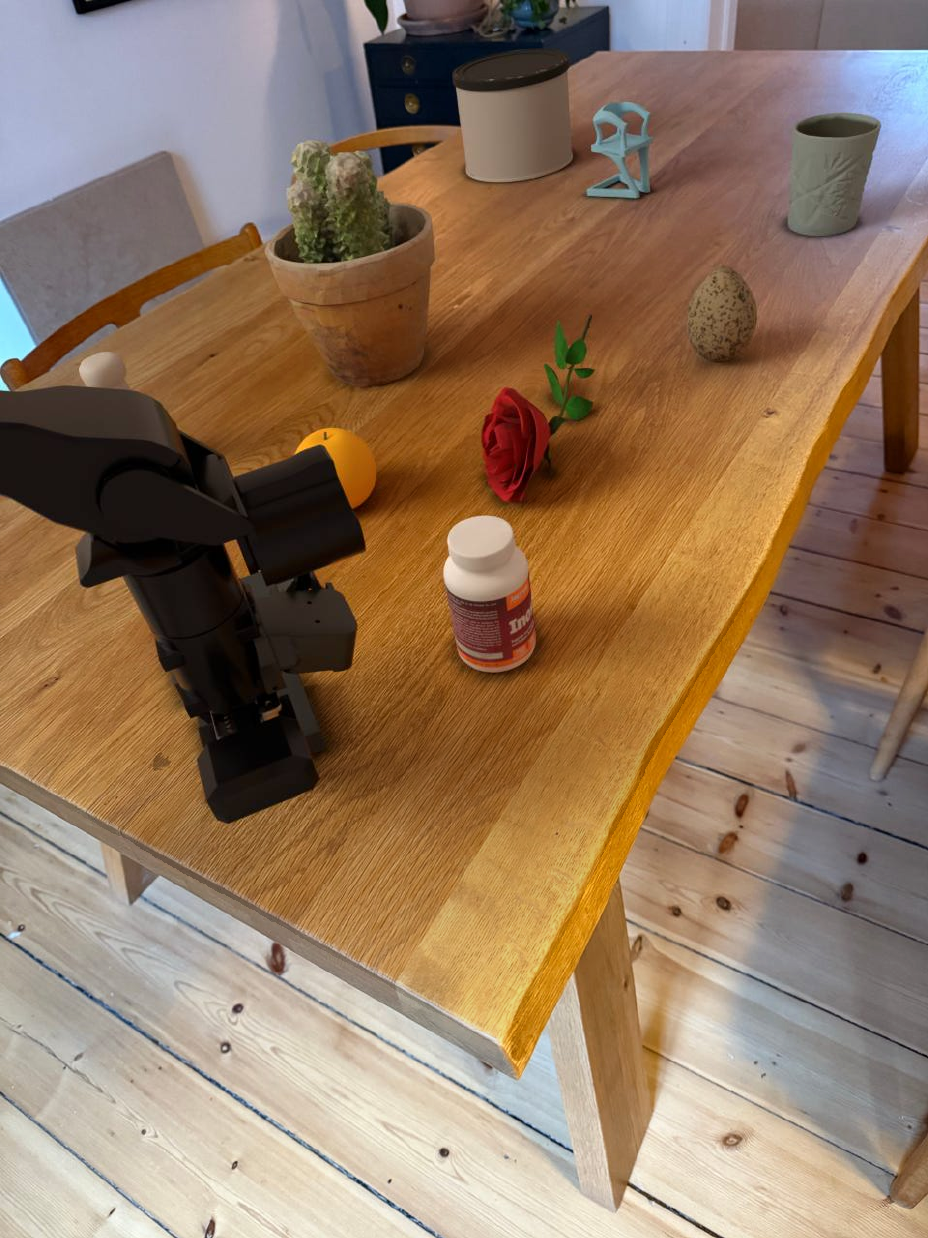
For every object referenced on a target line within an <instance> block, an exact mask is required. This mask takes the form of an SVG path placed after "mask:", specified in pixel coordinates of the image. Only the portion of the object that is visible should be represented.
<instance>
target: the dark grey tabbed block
mask: <svg viewBox="0 0 928 1238" xmlns="http://www.w3.org/2000/svg"><path fill="white" fill-rule="evenodd" d="M282 674H283V677H284V680H285V682H286V685H287V688H284V689H282V690H279V691H277V693H278V696H282V695H285V694H287V693H288V694H289V697H290V700H291V703H292V705H293V708H294V711H295V714H296V717H297V720H298V721H299V724H300V726H301V729H302V731H303V734H304V736H305V739H306V742H307V744H308V747H309V749H310V752H311V755H313V754H316V753H318V752H320V751H324V750H326V749H327V748H328V746H327V744H326V741H325V739H324V736H323V733H322V731H321V728H320V725H319V723H318V721H317V718H316V715H315V713H314V709H313V707H312V703H311V702H310V700H309V697H308V694H307V692H306V689H305V686H304V683H303V681H302V678H301V676H300V674H288V673H285V672H282ZM196 719H197V722H198V728H199V727H202V726H204V725H207V723H205V722H204V721H203V720H202V719H201V718H199V717H198V716H197V717H196Z"/></svg>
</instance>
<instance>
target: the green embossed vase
mask: <svg viewBox="0 0 928 1238" xmlns="http://www.w3.org/2000/svg"><path fill="white" fill-rule="evenodd" d="M881 128H882V123H881V121H880V119H878V118H876V117H874V116H871V115H868V114H863V113H857V112H829V113H822V114H817V115H813V116H808V117H805V118H802V119H800V120H799V121H796V123H795V124H794V125H793V127H792V143H791V165H790V175H789V177H790V179H789V180H790V181H789V197H788V204H789V207H788V210H787V227H788V229H789V230H791V231H792V232H794V233H796V234H799V235H804V236H808V237H828V236H835V235H841V234H843V233H846V232H848V231H850V230H852V229H853V228H854V227H855V226H856V224H857V221H858V217H859V213H860V209H861V204H862V201H863V197H864V196H863V195H864V192H865V187H866V183H867V179H868V175H869V174H870V169H871V166H872V162H873V157H874V156H873V154H874V151H875V149H876V146H877V142H878V139H879V135H880V131H881Z"/></svg>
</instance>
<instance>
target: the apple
mask: <svg viewBox="0 0 928 1238" xmlns="http://www.w3.org/2000/svg"><path fill="white" fill-rule="evenodd" d="M319 444H321V445H323V446H325V448H326V449H327V451H328V453H329V454H330V456H331V458H332V459H333V461H334V464H335V468H336V471H337V475H338V477H339V479H340V482H341V484H342V486H343V489H344V491H345V493H346V496H347V498H348V501H349V504H350V506H351V508H352V509H353V510H354V509H356V508H357V507H359V506H361V505H362V504H363V503H364V502H365V501H366V500H368V498H369V497H370V496H371V494H372V492H373V491H374V489H375V486H376V483H377V462H376V460H375V459H376V458H375V456H374V454H373V452H372V449H371V448H370V447H369V445H368V443H366V441H365V440H364V439H362V438H361V437H360V436H359V435H357V434H355V433H354V432H352V431H350V430H348V429H344V428H340V427H325V428H321V429H318V430H316V431H314V432H312V433H310V434H309V435H307V436H305V438H304V439H303V440H302V441H301V443H300V444H299V445H298V447H297V448H296V450H295V452H294V455H295V454H297V453H298V452H300V451H302V450H305V449H307V448H310V447H313V446H316V445H319Z"/></svg>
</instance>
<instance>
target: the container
mask: <svg viewBox="0 0 928 1238" xmlns="http://www.w3.org/2000/svg"><path fill="white" fill-rule="evenodd" d="M569 69H570V56H569V54H568V53H567V52H565V51H562V50H558V49H553V48H552V49H551V48H525V49H524V48H523V49H517V50H509V51H503V52H498V53H493V54H489V55H486V56H482V57H479V58H476V59H473V60H470V61H467V62H466V63H463V64H462V65H460V66H458V67H456V68H454V70H453V71H452V74H451V75H452V84H453V86H454V87H455V90H456V98H457V105H458V113H459V114H458V115H459V122H460V128H461V129H460V131H461V138H462V144H463V145H462V146H463V153H464V160H465V173H466V175H467V176H468V177H469V178H472V179H474V180H476V181H480V182H486V183H511V182H512V183H513V182H514V183H515V182H522V181H528V180H533V179H537V178H540V177H545V176H547V175H550V174H553V173H555V172H558V171H560V170H562V169H564V168H565V167H566V166H568V165H569V164H570V163H571V162H572V160H573V158H574V153H573V150H572V135H571V134H572V132H571V131H572V130H571V112H570V95H569V94H570V93H569V92H570V91H569V74H568V73H569V72H568V70H569Z"/></svg>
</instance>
